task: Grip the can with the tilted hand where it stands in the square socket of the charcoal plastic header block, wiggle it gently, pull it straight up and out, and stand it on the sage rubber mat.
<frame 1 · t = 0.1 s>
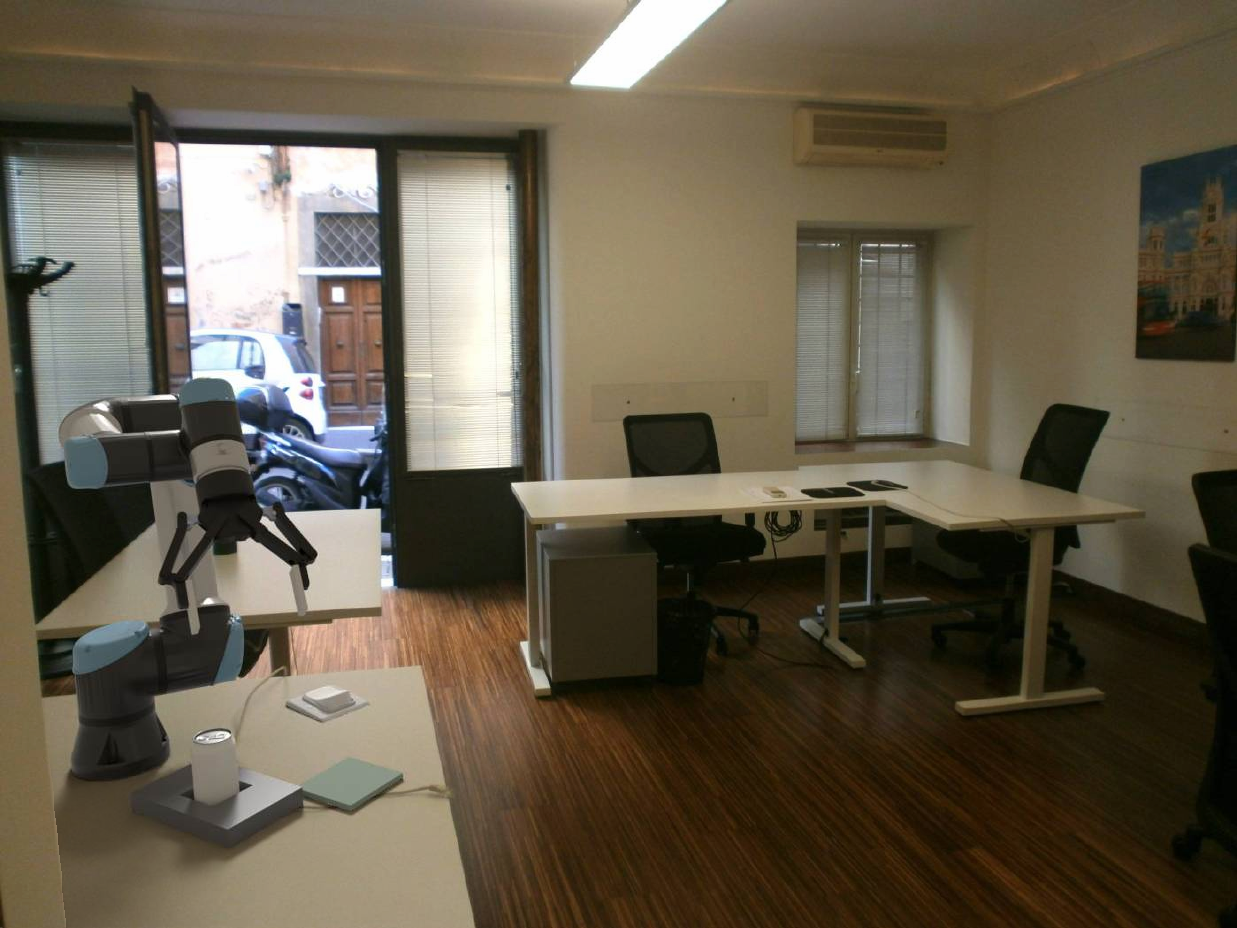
hand: (251, 621, 128), 36 cm above the table, tool tilted 35°, fingers open, 13 cm apart
light switch: (328, 708, 189), on the table
mat: (349, 785, 157), on the table
can: (218, 809, 150), resting in header block
header block: (218, 807, 150), on the table
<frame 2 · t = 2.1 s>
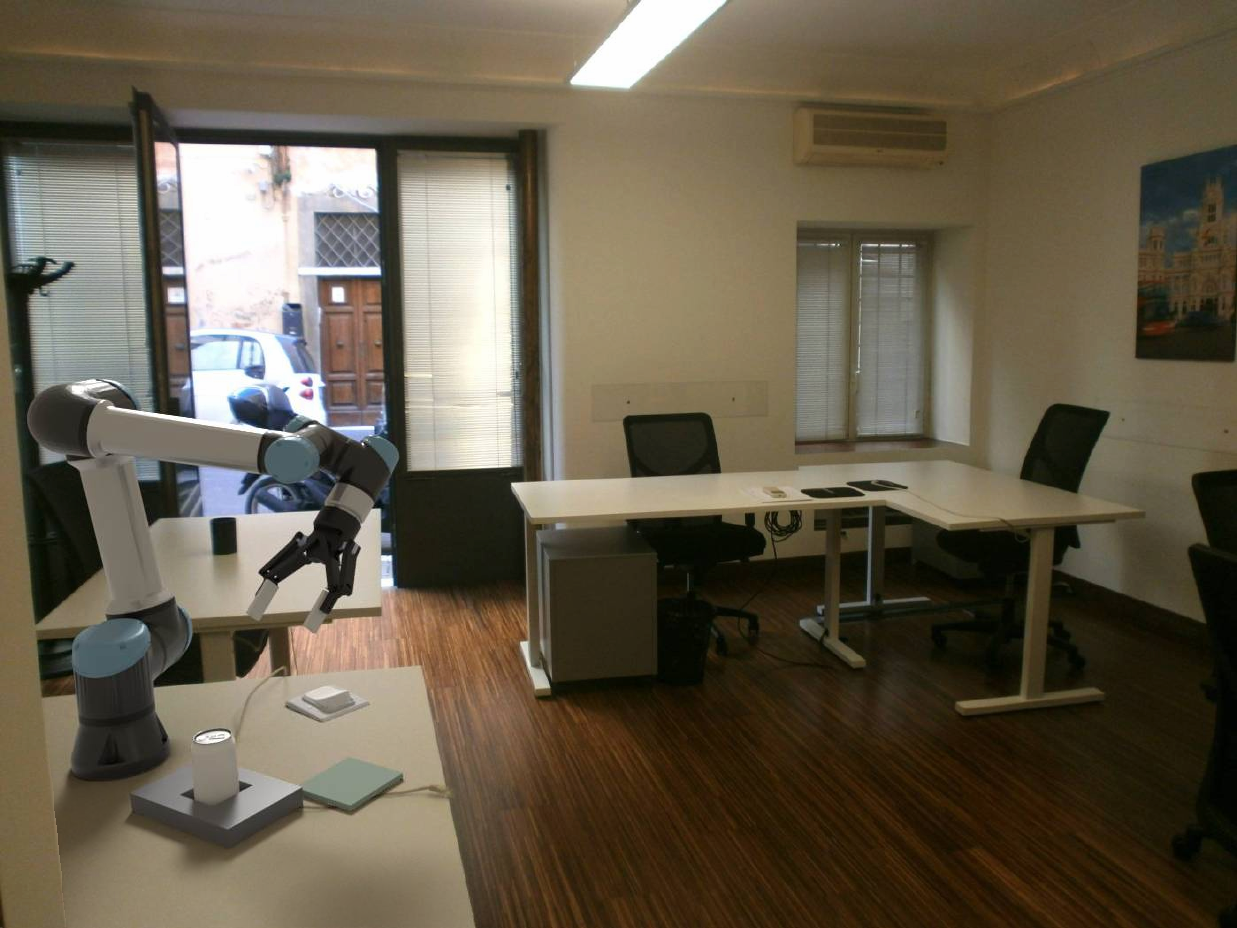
hand: (280, 623, 158), 26 cm above the table, tool tilted 45°, fingers open, 13 cm apart
nothing on the table moved.
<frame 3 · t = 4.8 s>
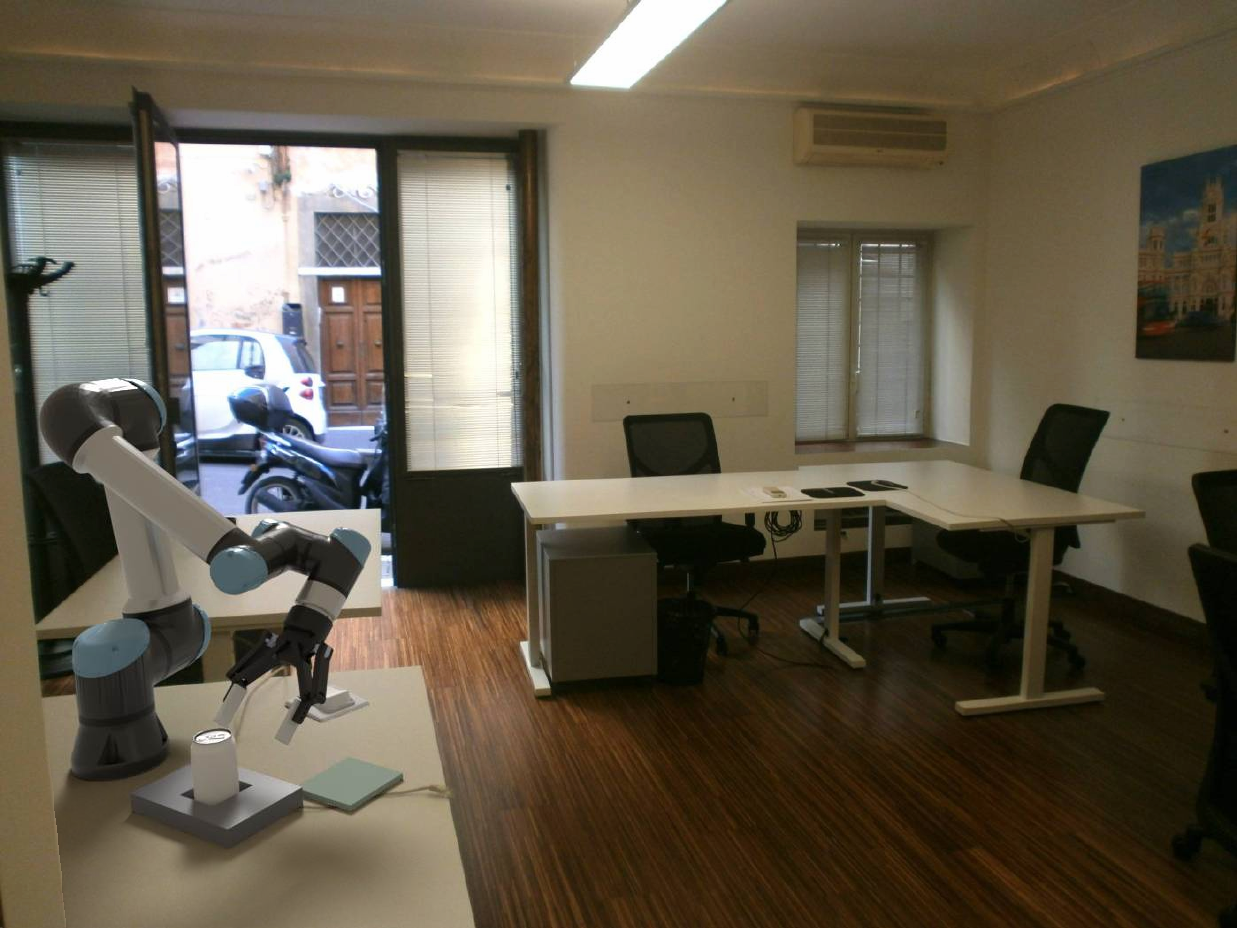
hand: (250, 733, 152), 10 cm above the table, tool tilted 45°, fingers open, 13 cm apart
nothing on the table moved.
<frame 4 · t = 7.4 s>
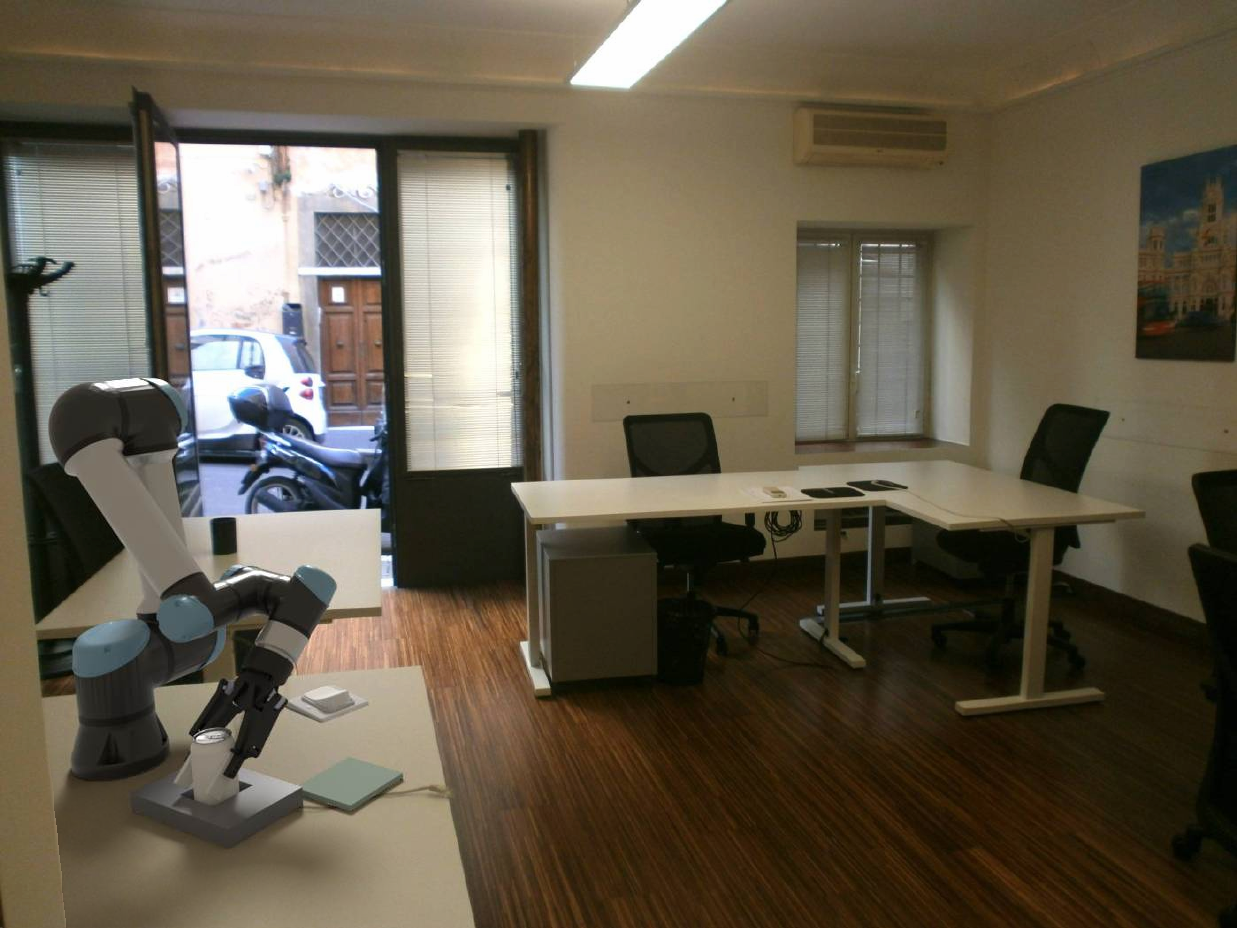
hand: (196, 791, 146), 4 cm above the table, tool tilted 45°, fingers closed on can, 6 cm apart
can: (218, 809, 150), resting in header block, touching gripper
everything else where it was.
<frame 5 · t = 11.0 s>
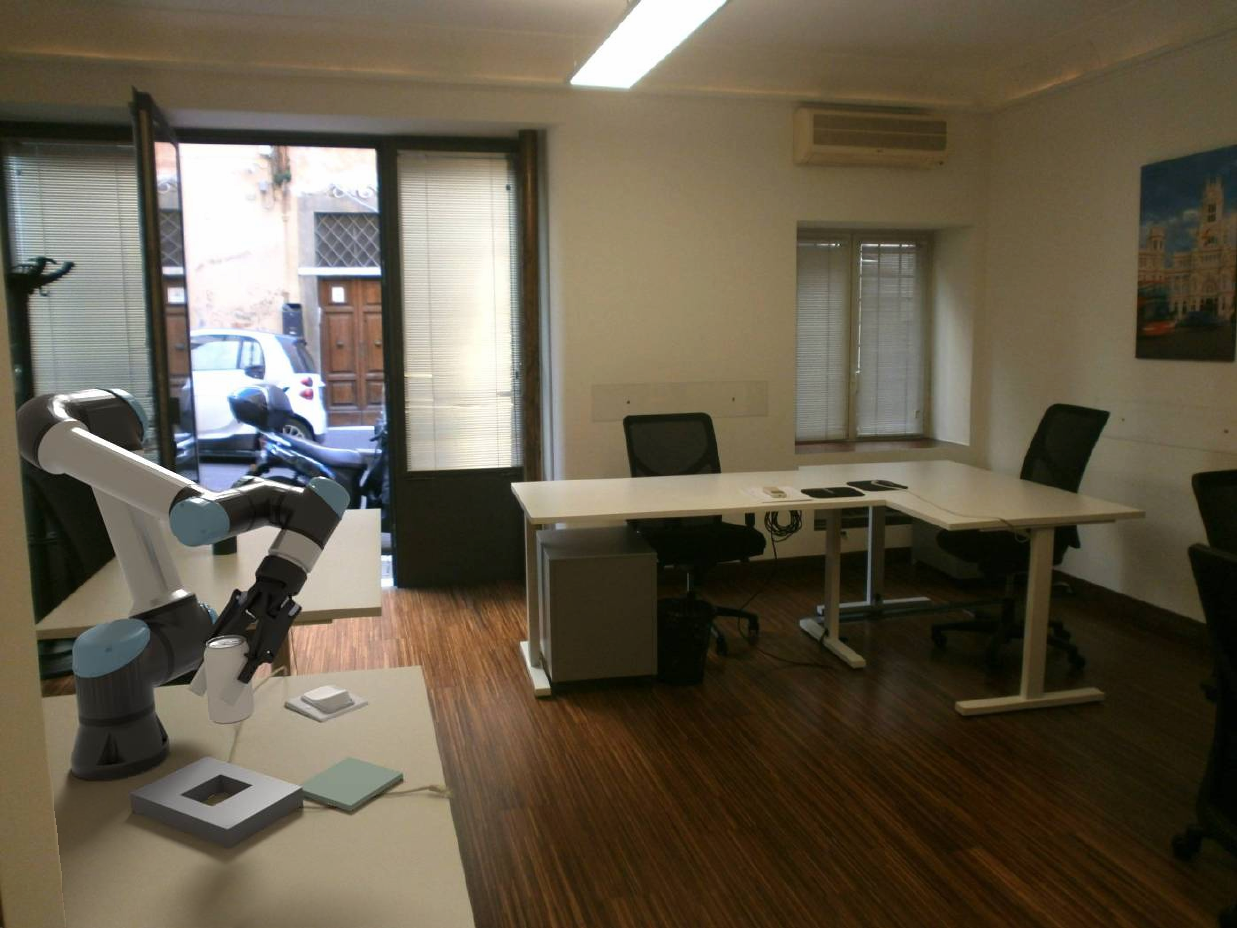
hand: (210, 696, 145), 19 cm above the table, tool tilted 45°, fingers closed on can, 6 cm apart
can: (232, 717, 148), point 15 cm above the table, touching gripper
everything else where it was.
when the fingers open (6 cm above the table, at t = 14.6 s): can stays where it is, resting on mat.
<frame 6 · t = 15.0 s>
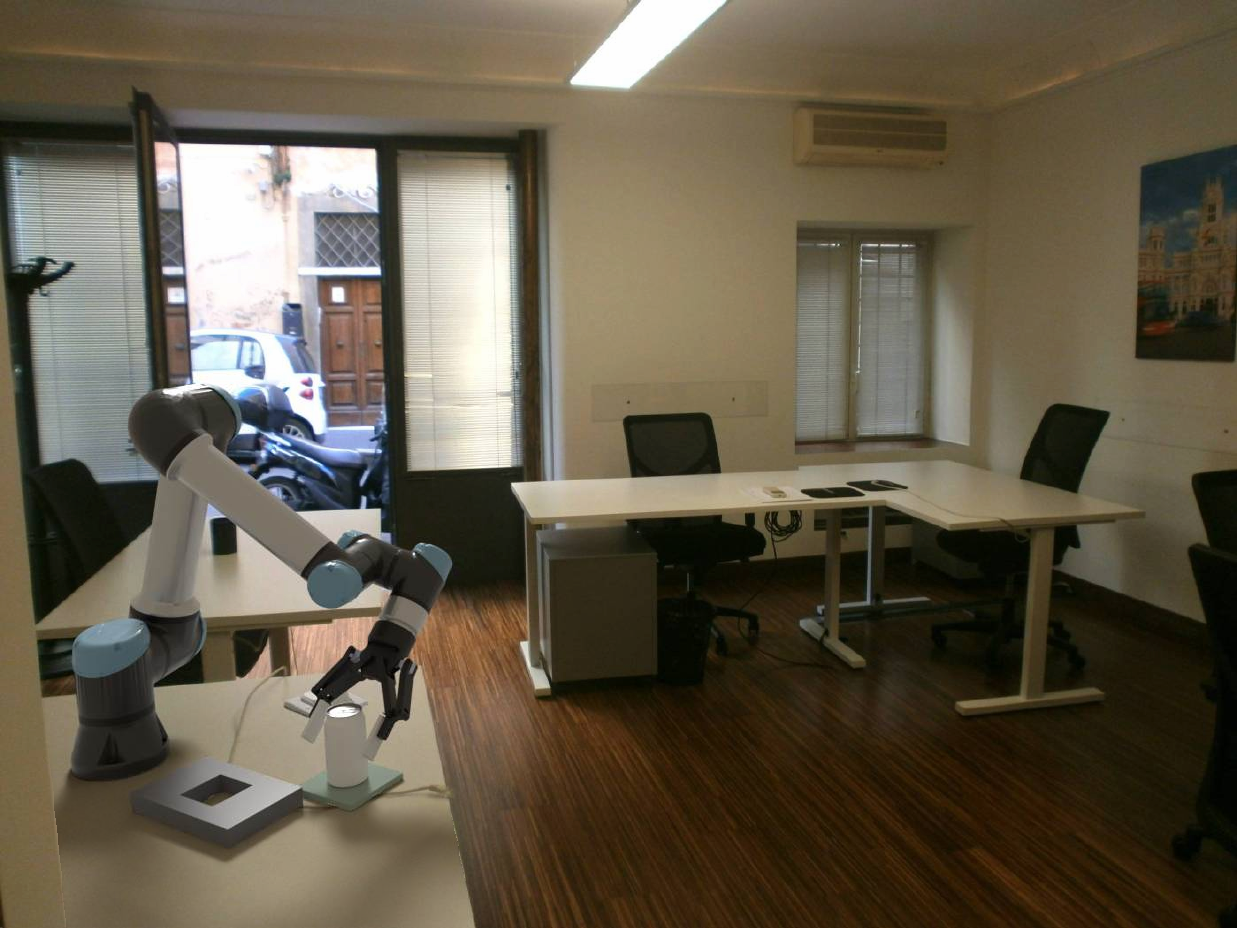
hand: (336, 748, 154), 7 cm above the table, tool tilted 45°, fingers open, 12 cm apart
can: (347, 780, 157), point 1 cm above the table, touching mat
everything else where it was.
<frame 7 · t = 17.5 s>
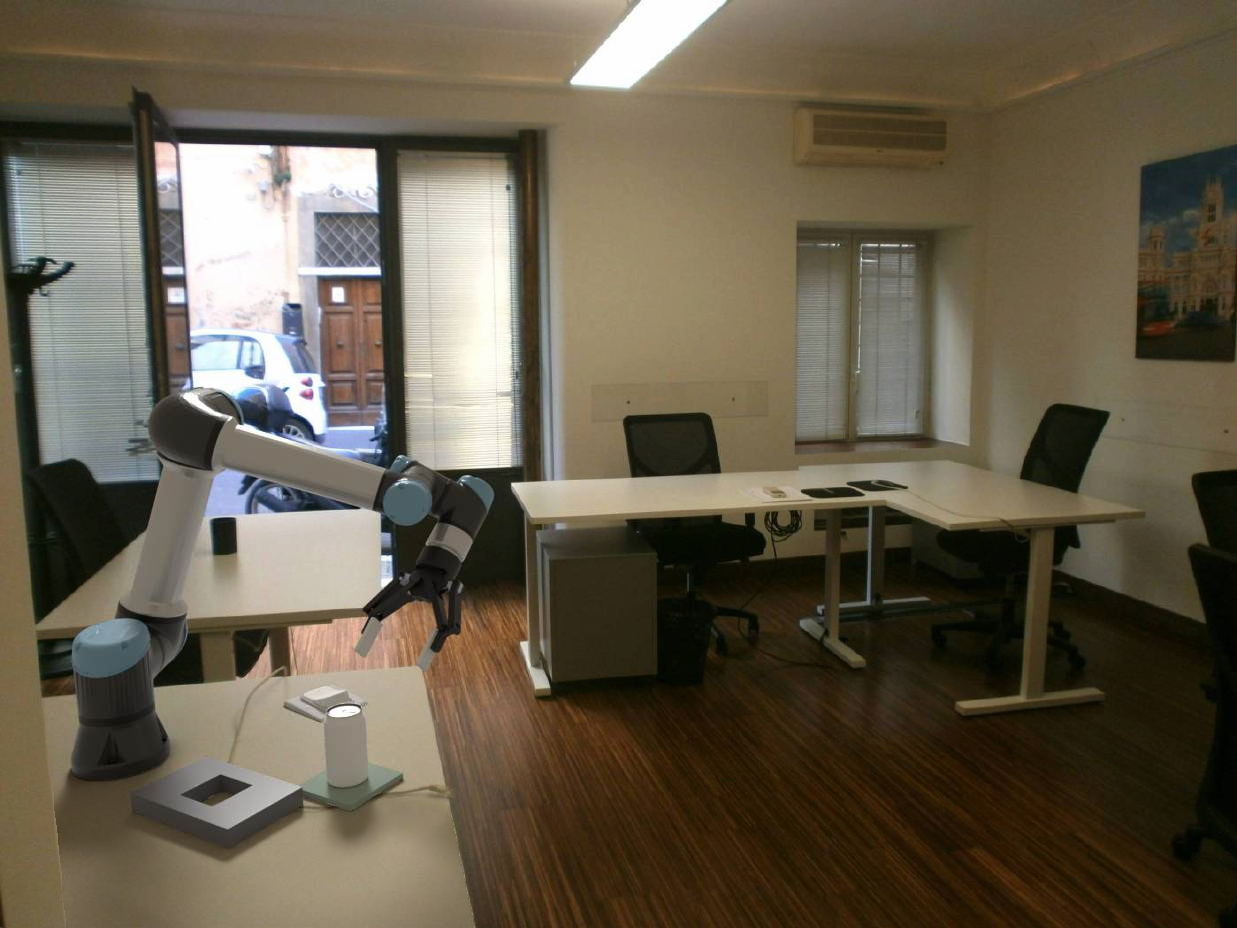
hand: (389, 661, 163), 18 cm above the table, tool tilted 45°, fingers open, 13 cm apart
nothing on the table moved.
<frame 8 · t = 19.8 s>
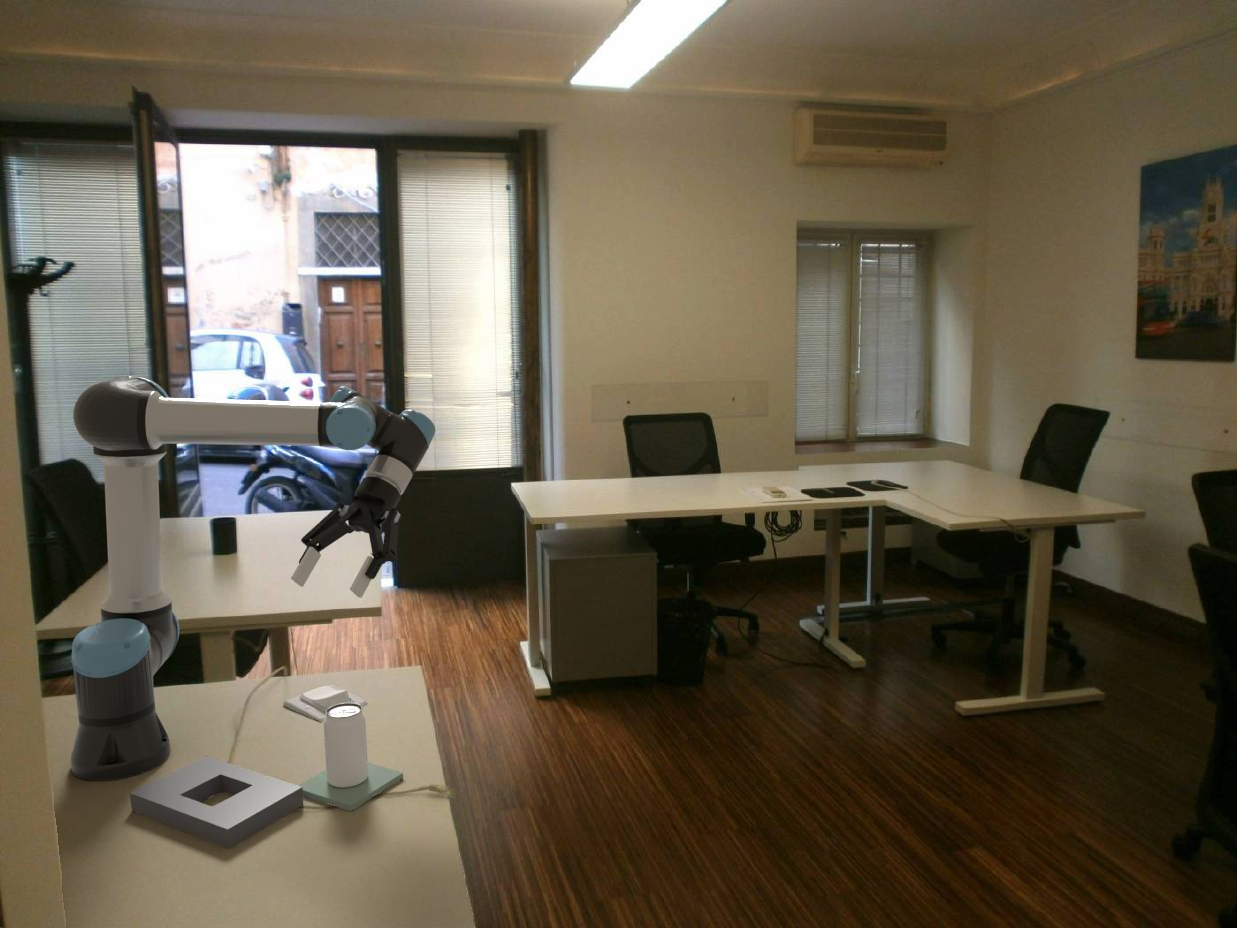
hand: (325, 588, 164), 30 cm above the table, tool tilted 45°, fingers open, 13 cm apart
nothing on the table moved.
at the end: can inside the target area on the mat (0.3 cm from its centre), point 0.8 cm above the mat's base; can tilted 0°; the gripper is holding nothing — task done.
